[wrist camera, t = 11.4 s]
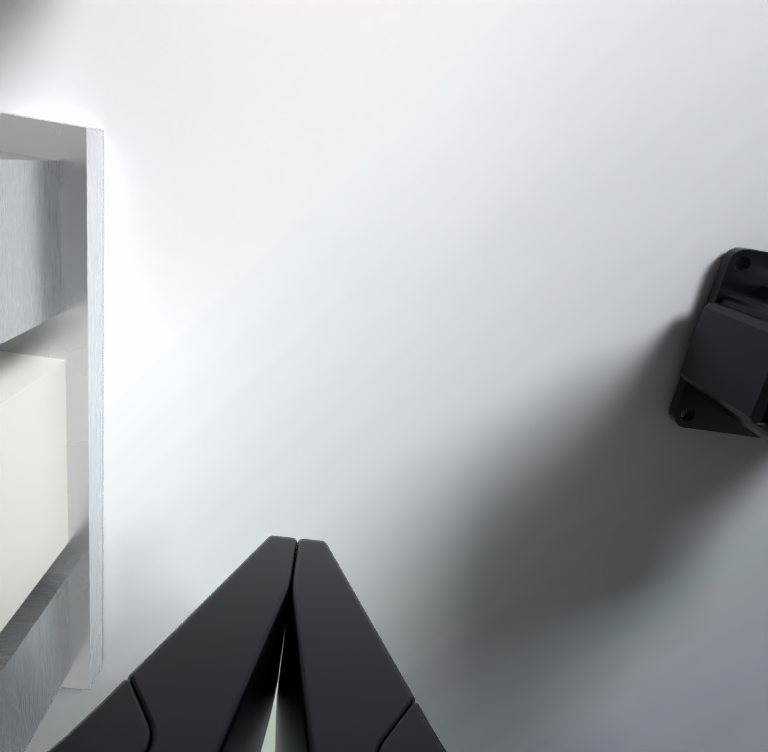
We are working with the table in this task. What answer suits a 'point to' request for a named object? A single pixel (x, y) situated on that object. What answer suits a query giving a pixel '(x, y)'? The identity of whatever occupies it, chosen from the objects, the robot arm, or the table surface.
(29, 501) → the block
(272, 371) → the table surface
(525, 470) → the table surface
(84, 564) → the rail
